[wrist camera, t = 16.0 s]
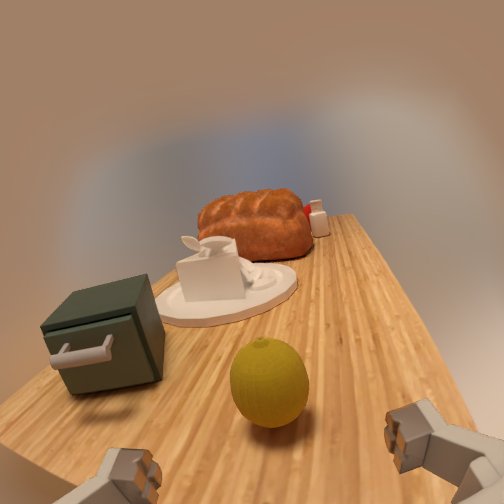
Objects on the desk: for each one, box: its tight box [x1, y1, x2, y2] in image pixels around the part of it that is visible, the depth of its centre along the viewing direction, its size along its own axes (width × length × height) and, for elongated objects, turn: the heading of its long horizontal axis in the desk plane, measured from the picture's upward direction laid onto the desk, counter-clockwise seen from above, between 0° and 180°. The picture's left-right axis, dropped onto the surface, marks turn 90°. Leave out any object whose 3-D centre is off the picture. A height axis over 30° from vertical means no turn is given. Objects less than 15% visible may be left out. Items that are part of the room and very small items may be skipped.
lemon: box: [230, 337, 309, 428], centre depth 21 cm, size 6×6×8 cm
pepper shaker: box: [309, 200, 329, 237], centre depth 82 cm, size 4×4×10 cm
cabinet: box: [40, 274, 165, 395], centre depth 34 cm, size 12×11×9 cm
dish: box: [155, 236, 297, 327], centre depth 53 cm, size 25×25×11 cm
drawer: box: [43, 313, 154, 394], centre depth 31 cm, size 16×10×7 cm, turn 13°
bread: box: [198, 188, 313, 262], centre depth 74 cm, size 14×26×16 cm, turn 69°
